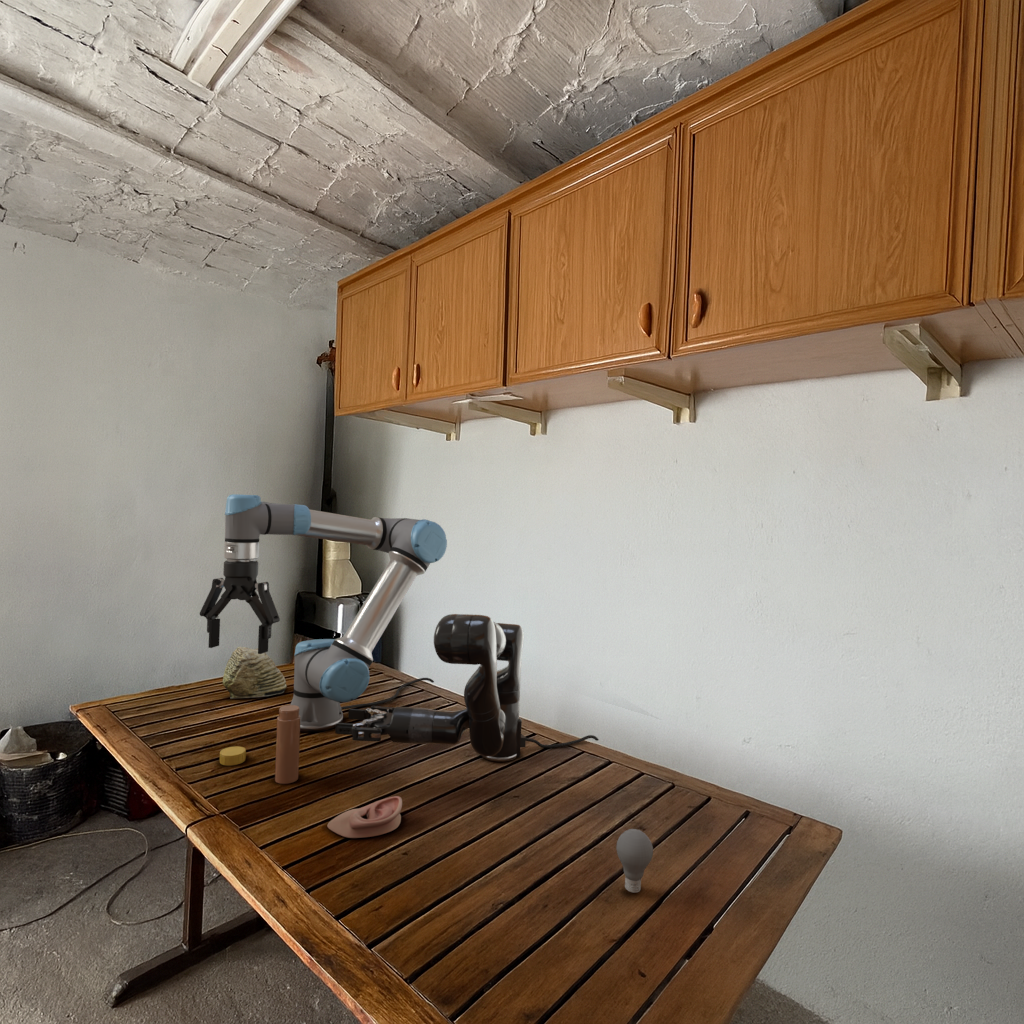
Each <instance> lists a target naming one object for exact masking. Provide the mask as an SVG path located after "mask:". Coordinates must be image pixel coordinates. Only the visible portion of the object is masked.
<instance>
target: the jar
mask: <svg viewBox="0 0 1024 1024" xmlns="http://www.w3.org/2000/svg"><path fill="white" fill-rule="evenodd" d="M299 709H300V708H299V707H298V706H296V705H290V704H287V705H282V706H280V707H279V710H278V716H277V718H276V736H275V737H276V738H275V763H274V765H275V767H274V768H275V769H274V782H275V783H277V784H280V785H289V784H291V783H294V782H297V780H298V779H299V772H300V771H299V770H300V769H299V767H300V741H301V731H300V719H301V716H300V715H299V711H300V710H299Z"/></svg>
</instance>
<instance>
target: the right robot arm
mask: <svg viewBox="0 0 1024 1024" xmlns="http://www.w3.org/2000/svg"><path fill="white" fill-rule="evenodd" d="M524 635H525V633H524V629H523V627H522V625H520V624H515V623H505V622H496V621H493V619H492V617H490V616H488V615H484V614H470V613H469V614H468V613H465V614H463V613H451V614H446V615H444V616H443V617H442V618H441V619H440V620H439V621H438V622H437V624H436V627H435V628H434V633H433V647H434V651H435V654H436V655H437V657H438V658H439V660H440V661H442V662H443V663H446V664H451V665H472V666H476V665H479V666H478V667H477V669H476V670H475V671H474V672H473V674H472V675H471V676H470V677H469V678H468V680H467V682H466V684H465V686H464V690H463V699H464V705H465V707H466V708H463V709H459V710H458V709H457V710H440V709H439V710H438V709H437V710H436V709H431V708H427V707H426V708H425V707H410V706H396V707H395V706H394V707H392V706H382V705H373V706H370V708H369V707H367V708H365V709H361V708H350V709H348V714H347V718H348V720H352V721H353V720H355V721H357V720H358V721H361V722H358V723H351V722H350V723H349V722H348V723H347V722H342V723H337V724H336V726H335V728H334V729H335V730H334V732H335V734H336V735H346V736H347V735H348V736H351V737H352V741H355V742H357V741H358V742H381V741H382V736H385V735H386V736H387V735H388V736H389V739H390V741H391V742H392V743H399V744H414V745H429V744H431V745H432V744H433V745H447V746H455V745H457V744H458V743H459V742H460V741H461V738H462V737H463V734H464V732H465V731H467V730H468V729H469V731H468V732H469V742H470V746H471V747H472V749H473V750H474V751H475V752H476V753H477V754H478V755H480V756H481V758H483V759H484V760H486V761H491V762H496V763H505V762H506V763H507V762H511V761H514V760H515V759H518V758H521V751H522V750H521V749H522V748H526V742H531V743H533V744H536V745H537V746H538V747H540V748H542V749H555V748H561V747H567V746H572V745H575V744H579V743H581V742H583V741H586V740H588V739H593V740H595V741H599V740H600V739H599V738H598V737H597V736H595V735H593V734H588V735H585V736H583V737H581V738H578V739H576V740H575V739H574V740H571V741H567V742H561V743H555V744H543V743H541V742H540V741H538V740H536V739H534V738H532V737H531V738H530V737H526V736H525V735H524V734H523V733H522V726H523V725H522V724H523V723H522V722H523V720H522V719H521V717H520V704H521V703H520V702H521V701H520V699H521V679H522V661H523V651H524V641H525V637H524ZM498 661H501V662H507V663H508V664H507V665H506V666H505V667H503V668H501V669H498Z"/></svg>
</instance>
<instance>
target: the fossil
mask: <svg viewBox="0 0 1024 1024" xmlns="http://www.w3.org/2000/svg"><path fill="white" fill-rule="evenodd" d="M222 676H223V677H222V685H223V687H224V688H225V690H226V691H228V693H229V698H230V699H250V698H264V697H271V696H275V695H281V694H284V693H285V691H286V689H287V687H288V686H287V680H286V678H285V676H284V674H283V673H282V672H281V669H279V668H278V667H277V665H276V663H275V662H274V660H273V659H272V658H271V657H270V656H269V655H268V654H267V652H265V653H262V654H258V647H257V648H251V647H247V646H246V647H245V646H238V647H237V648H236V649H235V650H233V651H232V653H231V656H230V657H229V659H228V660H227V663H226V666H225V668H224V671H223V675H222Z"/></svg>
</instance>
